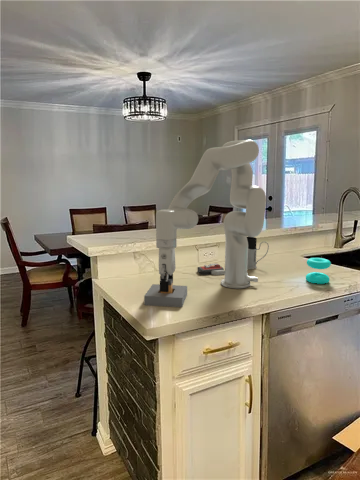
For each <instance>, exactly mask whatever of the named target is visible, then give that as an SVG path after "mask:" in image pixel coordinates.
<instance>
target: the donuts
mask: <svg viewBox="0 0 360 480" xmlns="http://www.w3.org/2000/svg"><path fill="white" fill-rule="evenodd" d="M306 265H307V266H308V267H310V268H311V269H315V270H327V269H329V268H330V267H331V265H332V262H331V261H330V260H329V259H326V258H324V257H323V258H322V257H310V258H308V259H307V260H306ZM305 281H306V282H308V283H310V282H311V284H314V283H317V284H316V285H324V284H325V283H326V284H328V283H329V282H330V276H328V274H325V273H324V272H318V271H312V272H309V273H307V274H306V275H305Z"/></svg>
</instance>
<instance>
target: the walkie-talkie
mask: <svg viewBox="0 0 360 480" xmlns="http://www.w3.org/2000/svg"><path fill="white" fill-rule="evenodd" d="M197 273H198V274H199V275H201V276H206V275H207V276H208V275H212V276H214V275H215V276H223V275H224V276H225V267H222V266H221V265H220V264H219V263H210V264H208V265H206V264H204V265H203V266H197Z"/></svg>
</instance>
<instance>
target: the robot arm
mask: <svg viewBox="0 0 360 480" xmlns="http://www.w3.org/2000/svg"><path fill="white" fill-rule="evenodd" d="M259 154H260V149H259V145H258V144H257V142H256V141H254V140H252V139H243V140H241V139H240V140H231V141H228V142H225V143H224V144H222V146H218V147H209V148H208V149H206V150H204V152H203V155H202V156H201V158H200V160H199V163H198V164H197V166H196V168H195V170H194V172H193V175H192V176H191V177H190V180H189V181H188V182H187V183H186V184H184V185H183V186H182V187H181V188H180V189H179V190H178V192H177V193H175V195H174V197H173V199H172V200H171V202H170V204H169V205H168V208H167V209H160V210H157V211H156V213H155V233H156V234H155V236H156V238H155V239H156V240H155V243H156V245H155V246H156V249H158V274H159V275H160V277H159V285H160V292H168V291H169V281H168V279H173V280H174V272H175V271H176V249H177V242H178V241H177V236H178V235H177V229H180V230H181V229H182V230H189V229H193V228H195V227H196V226H197V224H198V222H199V215H198V213H197V212H196V211H195V210H193V209H190V208H188V207H189V205H190V204H191V203H192V202H193V201H194V200H195V199H197V198H199V197H201V196H203V195H206V194H207V193H209V192H210V191H211V189H212V187H213V185H214V183H215V181H216V179H217V176H218V175H219V173H220V171H228V170H229V171H231V183H230V192H229V203H230V205H231V206H232V207H234V208H237V209H242V210H245V211H240V210H234V211H230V212H227V214H225V217H224V219H223V230H224V238H225V250H224V253H225V255H224V271H225V275H224V278H223V279H221V281H220V285H221V286H222V287H225V288H228V289H238V290H239V289H246V288H249V287H250V286H251V282H252V283H253V282H254V283H258V282H259V278H258V277H256V276H253V275H252V276H250V275H248V274H249V273H248V269H247V263H248V241H247V237H255V238H256V237H258V236H259V235H260V234H261V233H262V231H263V229H264V223H265V216H266V215H265V214H266V207H267V196H266V193H265V190H264V189H263V188H262V187H261V186H258V185H253V178H254V177H253V175H254V172H253V168H252V165H251V164H250V163H252V162H254V161H255V160H256V159H257V158H258V156H259Z"/></svg>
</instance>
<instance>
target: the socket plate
mask: <svg viewBox="0 0 360 480" xmlns="http://www.w3.org/2000/svg"><path fill="white" fill-rule="evenodd" d="M143 297H144V298H143V300H144V302H143V305H144V306H152V307H153V306H155V307H156V306H157V307H170V308H171V307H175V308H183V307H184V304H185V302H186V300H187V297H188V285H174V284H173V293H161V292H160V284H157V283H156V284H154V283H153V284H152V285H151V286H150V287H149V289H148V290H147V291H146V293H145V294H144V295H143Z"/></svg>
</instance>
